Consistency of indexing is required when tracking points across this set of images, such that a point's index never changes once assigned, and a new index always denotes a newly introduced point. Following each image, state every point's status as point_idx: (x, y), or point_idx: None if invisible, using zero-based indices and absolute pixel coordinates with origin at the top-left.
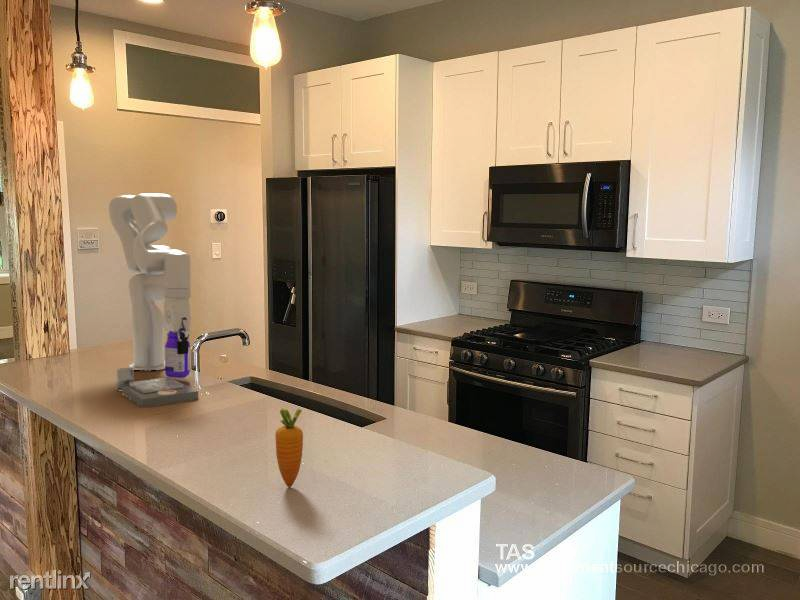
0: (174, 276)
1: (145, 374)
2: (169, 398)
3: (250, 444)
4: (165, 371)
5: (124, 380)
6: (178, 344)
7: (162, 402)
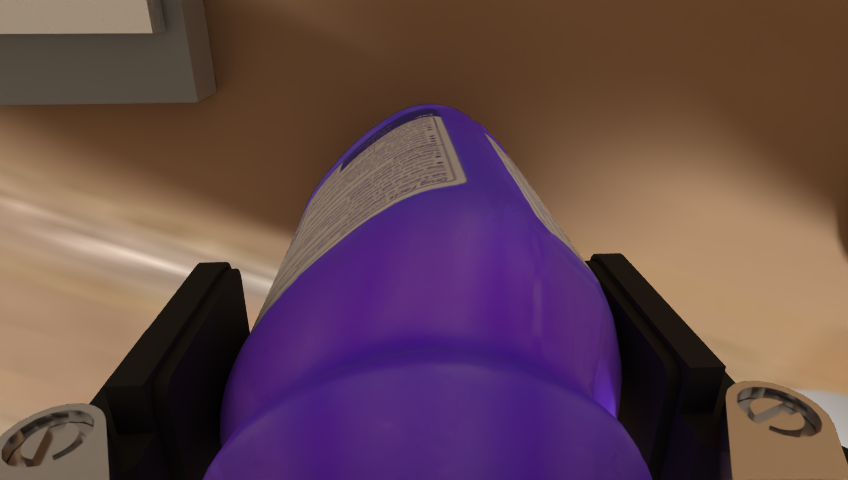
0: None
1: (830, 59)
2: None
3: None
4: (430, 104)
5: None
6: (140, 356)
7: None
